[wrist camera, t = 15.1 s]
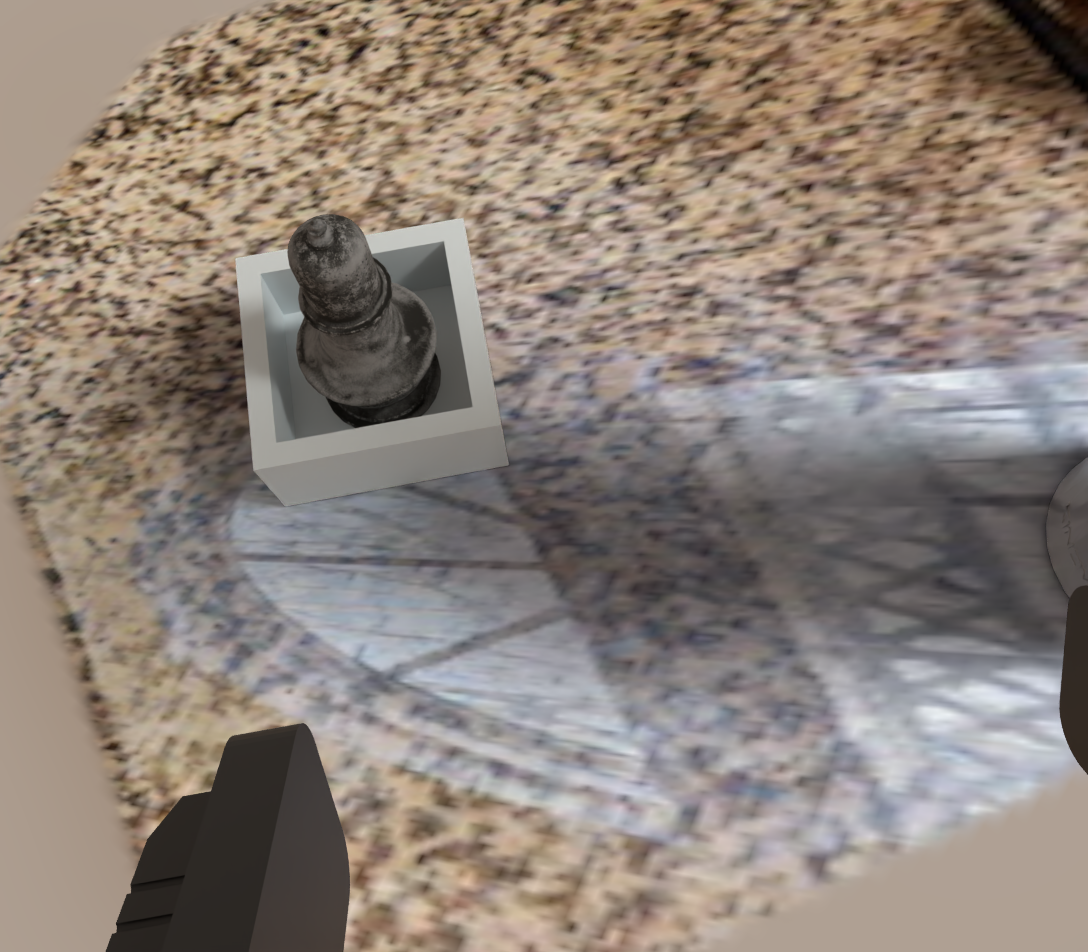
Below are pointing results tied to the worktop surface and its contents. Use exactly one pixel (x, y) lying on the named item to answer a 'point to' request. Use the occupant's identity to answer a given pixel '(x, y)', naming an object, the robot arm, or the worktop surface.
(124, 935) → the robot arm
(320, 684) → the worktop surface
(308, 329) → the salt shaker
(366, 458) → the sleeve
